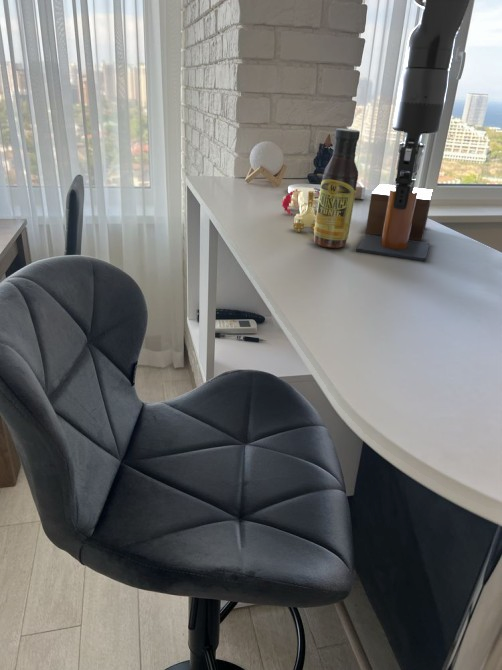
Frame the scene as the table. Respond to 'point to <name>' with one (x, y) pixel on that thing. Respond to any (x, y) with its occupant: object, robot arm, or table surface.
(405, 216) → the spice bottle
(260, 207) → the table surface
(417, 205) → the brown open box
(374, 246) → the mat
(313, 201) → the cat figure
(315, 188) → the record player
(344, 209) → the sauce bottle
